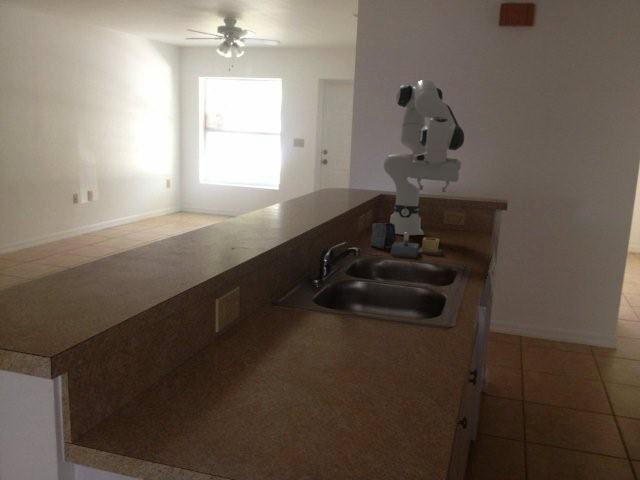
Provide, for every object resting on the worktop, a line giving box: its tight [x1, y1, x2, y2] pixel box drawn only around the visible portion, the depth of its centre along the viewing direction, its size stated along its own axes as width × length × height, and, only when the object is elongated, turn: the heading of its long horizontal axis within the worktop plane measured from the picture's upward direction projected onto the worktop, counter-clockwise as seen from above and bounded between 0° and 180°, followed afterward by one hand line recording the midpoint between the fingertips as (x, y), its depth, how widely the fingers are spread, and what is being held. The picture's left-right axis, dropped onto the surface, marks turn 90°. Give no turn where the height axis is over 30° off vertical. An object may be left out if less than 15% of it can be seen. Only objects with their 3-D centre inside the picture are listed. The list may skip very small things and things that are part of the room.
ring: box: [421, 236, 440, 253], centre depth 239 cm, size 6×6×5 cm
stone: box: [370, 222, 397, 250], centre depth 244 cm, size 12×10×10 cm
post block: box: [390, 232, 420, 259], centre depth 231 cm, size 10×10×9 cm
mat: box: [418, 247, 442, 256], centre depth 239 cm, size 9×9×1 cm
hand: (432, 190), depth 238 cm, fingers open, 8 cm apart
